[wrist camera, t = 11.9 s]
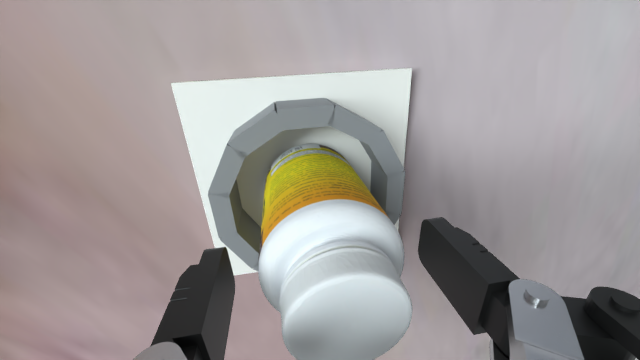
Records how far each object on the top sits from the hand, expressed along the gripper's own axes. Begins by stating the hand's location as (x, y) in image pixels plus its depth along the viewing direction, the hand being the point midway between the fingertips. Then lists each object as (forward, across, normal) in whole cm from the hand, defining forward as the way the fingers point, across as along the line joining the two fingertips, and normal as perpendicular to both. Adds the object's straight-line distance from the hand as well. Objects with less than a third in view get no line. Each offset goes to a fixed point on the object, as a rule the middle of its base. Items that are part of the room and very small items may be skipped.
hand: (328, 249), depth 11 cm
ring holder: (+8, 0, 0) cm, 8 cm away
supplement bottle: (+7, 0, 0) cm, 7 cm away
